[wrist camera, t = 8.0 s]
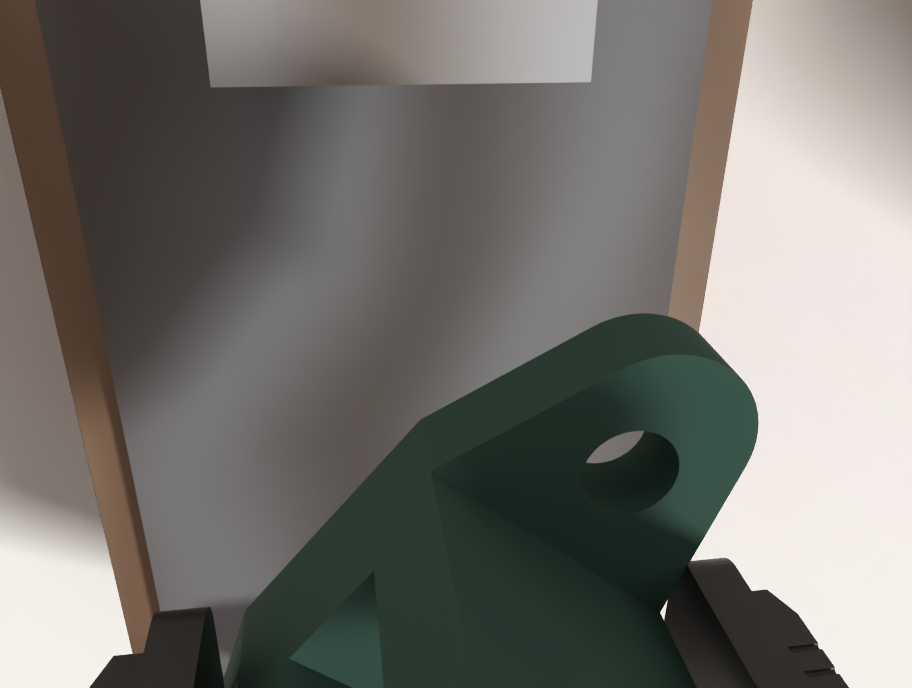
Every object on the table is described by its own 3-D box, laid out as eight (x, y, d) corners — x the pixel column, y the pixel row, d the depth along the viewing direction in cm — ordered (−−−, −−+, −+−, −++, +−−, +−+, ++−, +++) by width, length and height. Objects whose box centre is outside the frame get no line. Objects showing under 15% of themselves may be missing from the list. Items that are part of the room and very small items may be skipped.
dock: (627, -63, 22) (846, -53, 13) (575, 481, 30) (687, 722, 21) (81, -69, 20) (-114, -63, 11) (183, 513, 28) (120, 794, 19)
